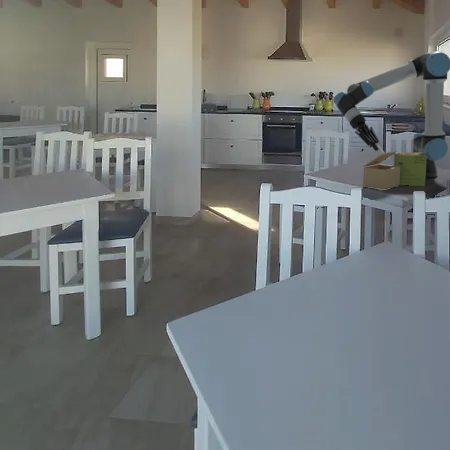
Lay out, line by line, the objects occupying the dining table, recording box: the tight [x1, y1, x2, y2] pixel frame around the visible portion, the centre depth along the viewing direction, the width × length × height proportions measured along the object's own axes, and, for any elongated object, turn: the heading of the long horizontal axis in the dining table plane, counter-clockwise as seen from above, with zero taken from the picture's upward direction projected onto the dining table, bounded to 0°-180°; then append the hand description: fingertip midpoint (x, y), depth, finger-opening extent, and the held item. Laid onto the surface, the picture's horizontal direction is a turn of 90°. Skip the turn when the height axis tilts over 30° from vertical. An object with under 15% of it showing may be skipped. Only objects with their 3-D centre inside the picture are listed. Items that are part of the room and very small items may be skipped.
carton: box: [362, 163, 400, 190], centre depth 320 cm, size 14×12×10 cm
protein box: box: [393, 151, 427, 187], centre depth 326 cm, size 10×15×16 cm
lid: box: [363, 150, 398, 168], centre depth 318 cm, size 14×12×1 cm
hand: (382, 155), depth 317 cm, fingers closed
